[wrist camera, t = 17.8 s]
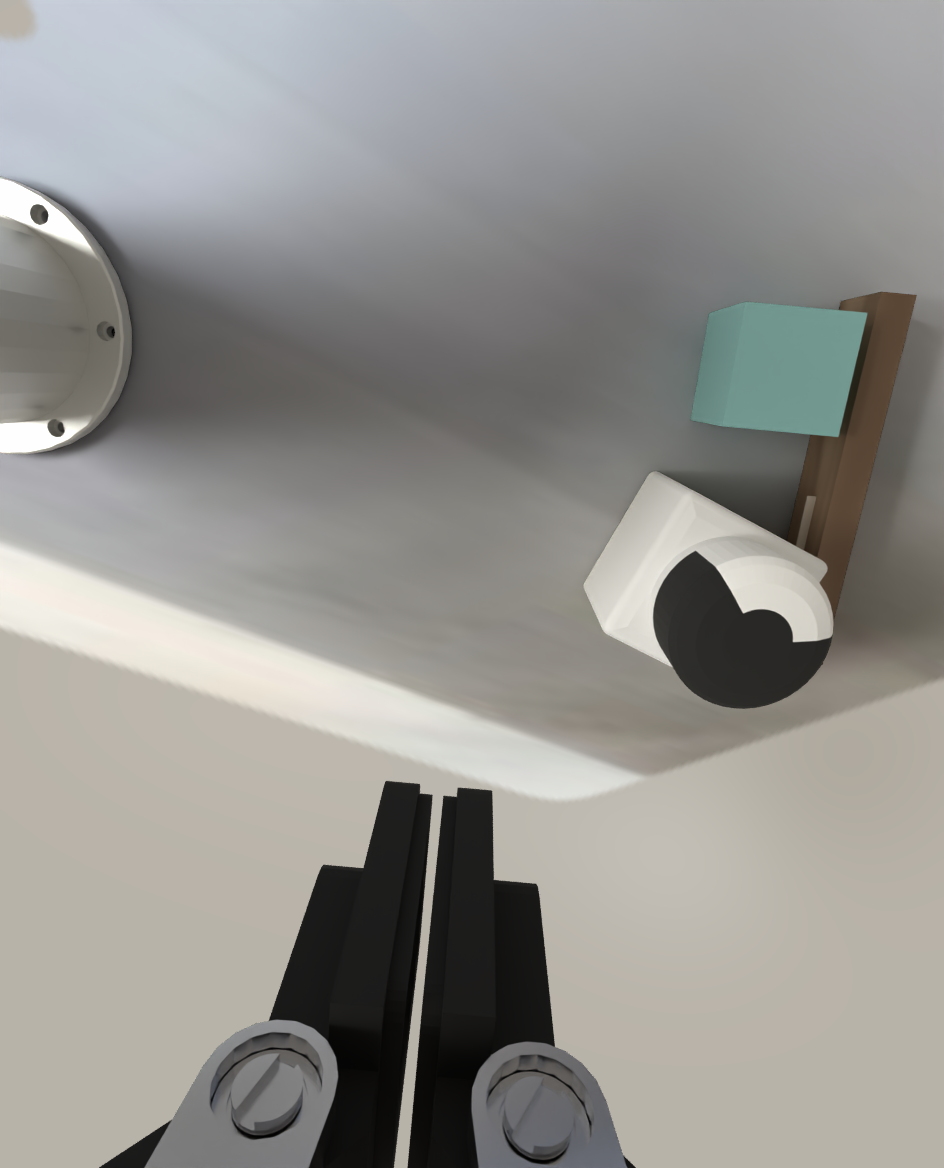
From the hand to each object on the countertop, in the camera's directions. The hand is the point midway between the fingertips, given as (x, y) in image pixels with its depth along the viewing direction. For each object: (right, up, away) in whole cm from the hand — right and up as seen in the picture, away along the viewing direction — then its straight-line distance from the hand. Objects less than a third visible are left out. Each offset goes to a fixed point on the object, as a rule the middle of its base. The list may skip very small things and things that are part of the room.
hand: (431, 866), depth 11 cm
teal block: (+14, +15, +23) cm, 31 cm away
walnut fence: (+18, +10, +24) cm, 32 cm away
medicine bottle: (+11, +6, +26) cm, 29 cm away
